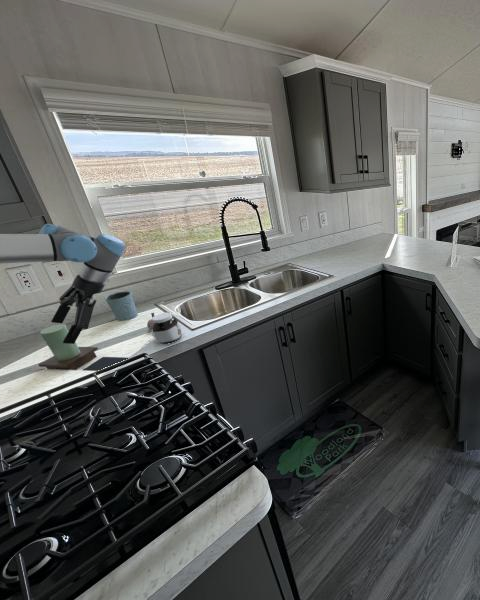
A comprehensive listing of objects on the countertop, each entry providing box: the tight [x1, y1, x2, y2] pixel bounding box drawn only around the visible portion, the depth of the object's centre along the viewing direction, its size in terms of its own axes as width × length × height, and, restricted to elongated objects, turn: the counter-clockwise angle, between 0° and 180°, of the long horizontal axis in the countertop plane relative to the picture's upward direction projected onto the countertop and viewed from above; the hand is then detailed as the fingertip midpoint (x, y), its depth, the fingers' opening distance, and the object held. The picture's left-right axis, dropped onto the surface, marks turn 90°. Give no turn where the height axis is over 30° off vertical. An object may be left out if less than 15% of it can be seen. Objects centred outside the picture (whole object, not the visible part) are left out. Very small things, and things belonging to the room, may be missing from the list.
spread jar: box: [150, 312, 182, 345], centre depth 140 cm, size 12×11×12 cm
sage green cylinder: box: [40, 323, 80, 361], centre depth 124 cm, size 7×7×12 cm
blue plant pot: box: [104, 290, 139, 322], centre depth 161 cm, size 10×10×12 cm
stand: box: [37, 346, 99, 371], centre depth 127 cm, size 12×12×4 cm
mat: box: [82, 356, 129, 372], centre depth 124 cm, size 13×13×1 cm
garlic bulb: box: [146, 312, 155, 331], centre depth 150 cm, size 8×7×8 cm
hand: (62, 332), depth 111 cm, fingers open, 13 cm apart
